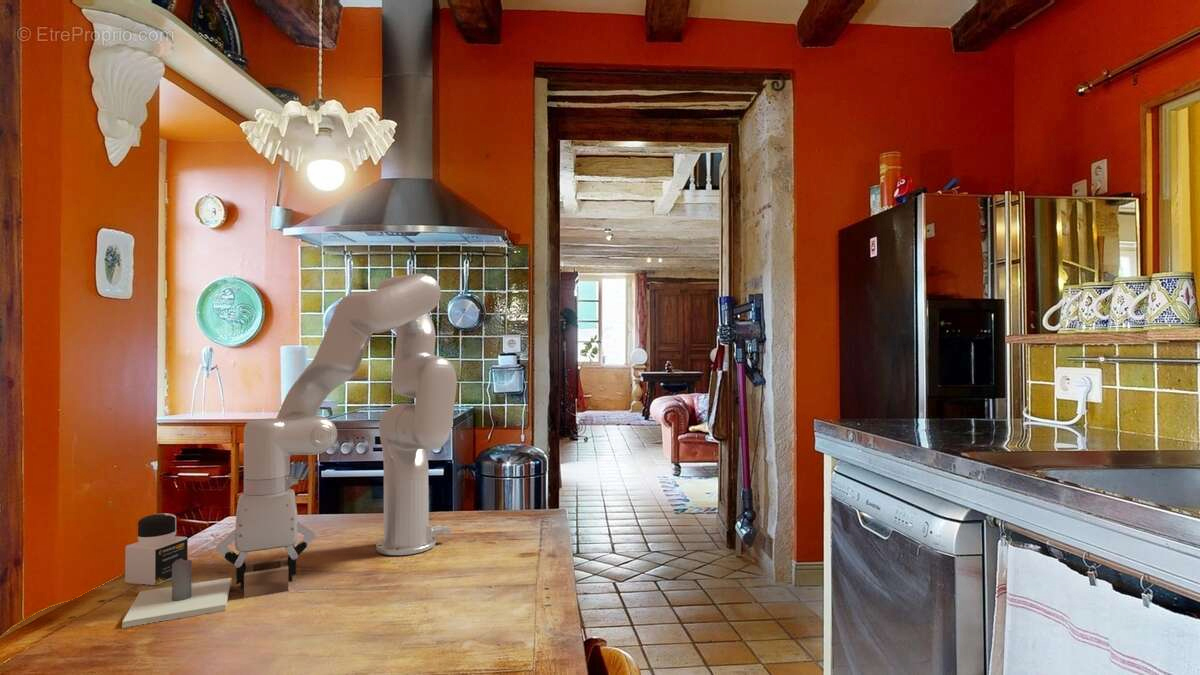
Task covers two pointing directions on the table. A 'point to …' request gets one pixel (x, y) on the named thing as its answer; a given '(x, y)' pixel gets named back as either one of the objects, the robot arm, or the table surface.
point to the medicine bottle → (154, 550)
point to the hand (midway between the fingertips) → (266, 582)
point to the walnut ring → (266, 577)
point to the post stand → (179, 598)
